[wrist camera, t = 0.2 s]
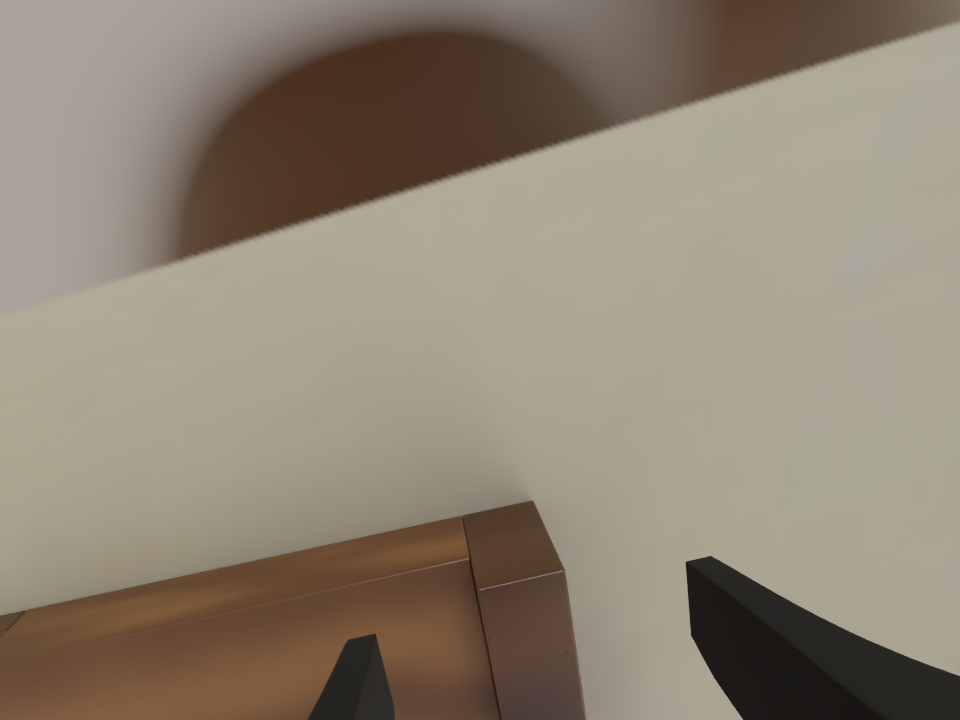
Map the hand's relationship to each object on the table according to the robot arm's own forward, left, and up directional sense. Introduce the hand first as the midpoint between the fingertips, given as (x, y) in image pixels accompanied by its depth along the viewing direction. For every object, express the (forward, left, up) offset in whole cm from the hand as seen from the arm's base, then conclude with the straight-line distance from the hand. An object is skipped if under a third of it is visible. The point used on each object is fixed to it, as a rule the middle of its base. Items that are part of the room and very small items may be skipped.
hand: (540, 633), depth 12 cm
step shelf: (-9, +10, -10) cm, 16 cm away
